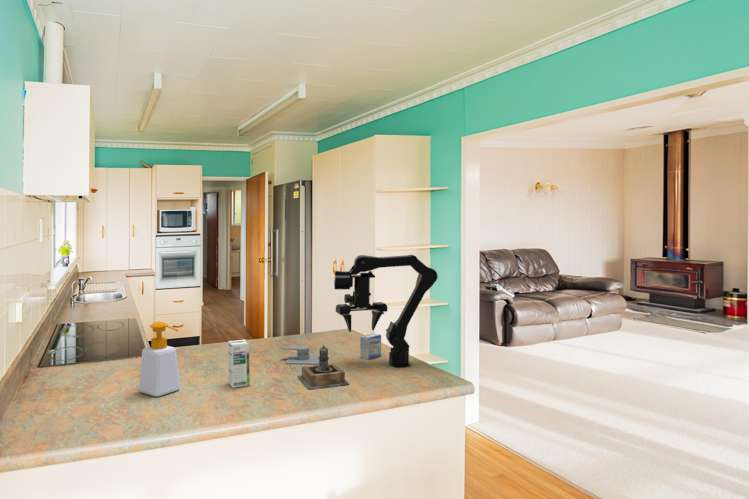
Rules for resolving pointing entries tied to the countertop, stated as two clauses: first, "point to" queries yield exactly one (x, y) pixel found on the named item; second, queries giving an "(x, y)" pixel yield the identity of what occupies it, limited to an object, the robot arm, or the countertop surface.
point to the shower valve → (301, 356)
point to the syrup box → (238, 363)
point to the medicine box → (370, 346)
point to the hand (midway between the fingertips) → (361, 331)
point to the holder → (322, 377)
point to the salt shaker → (323, 362)
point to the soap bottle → (159, 365)
